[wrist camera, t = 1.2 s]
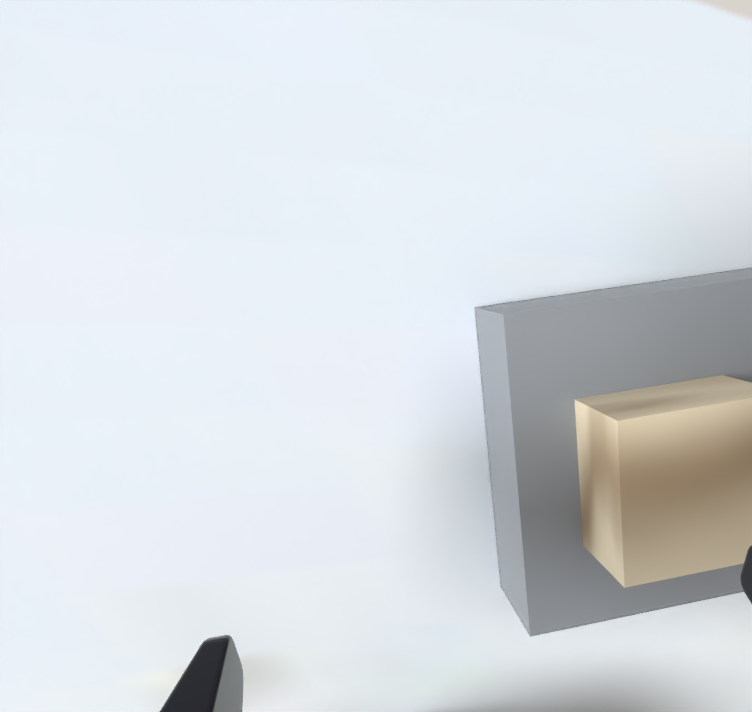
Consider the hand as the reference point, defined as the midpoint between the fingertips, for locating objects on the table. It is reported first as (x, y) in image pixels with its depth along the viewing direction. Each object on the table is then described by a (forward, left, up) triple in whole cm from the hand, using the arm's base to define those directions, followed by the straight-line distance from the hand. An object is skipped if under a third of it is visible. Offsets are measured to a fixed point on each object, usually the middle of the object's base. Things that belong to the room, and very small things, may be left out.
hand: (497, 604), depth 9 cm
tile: (-2, -9, -8) cm, 12 cm away
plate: (-2, -11, -11) cm, 16 cm away
